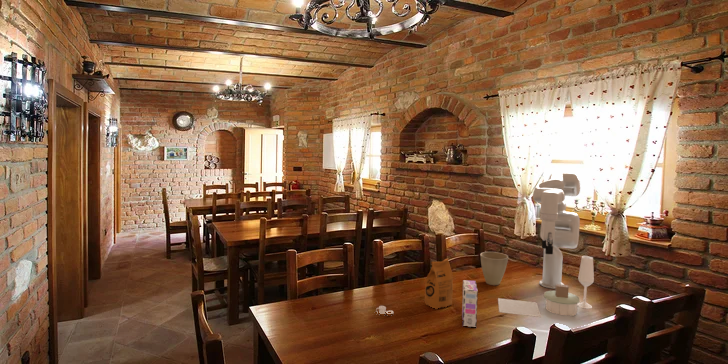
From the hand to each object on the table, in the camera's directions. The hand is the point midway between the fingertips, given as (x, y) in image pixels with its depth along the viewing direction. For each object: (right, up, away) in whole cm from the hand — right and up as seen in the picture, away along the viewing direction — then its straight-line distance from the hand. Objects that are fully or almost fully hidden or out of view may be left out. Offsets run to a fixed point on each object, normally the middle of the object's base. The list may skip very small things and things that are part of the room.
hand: (547, 251), depth 206 cm
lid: (+3, -21, -8) cm, 22 cm away
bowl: (+3, -27, -7) cm, 28 cm away
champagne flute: (+18, -27, -1) cm, 32 cm away
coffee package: (-53, -26, -1) cm, 59 cm away
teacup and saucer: (-79, -28, -16) cm, 85 cm away
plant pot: (-17, -23, +31) cm, 42 cm away
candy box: (-43, -28, -20) cm, 55 cm away
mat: (-16, -26, -5) cm, 31 cm away
